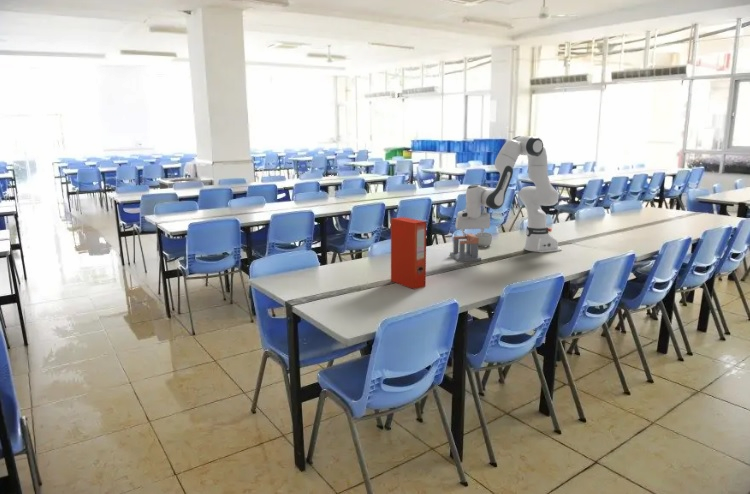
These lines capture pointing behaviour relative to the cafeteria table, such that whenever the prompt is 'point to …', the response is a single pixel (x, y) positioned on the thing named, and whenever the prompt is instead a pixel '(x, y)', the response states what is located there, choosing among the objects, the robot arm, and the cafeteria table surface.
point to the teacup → (484, 239)
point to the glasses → (469, 236)
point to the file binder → (408, 252)
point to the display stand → (470, 252)
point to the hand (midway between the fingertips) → (472, 236)
